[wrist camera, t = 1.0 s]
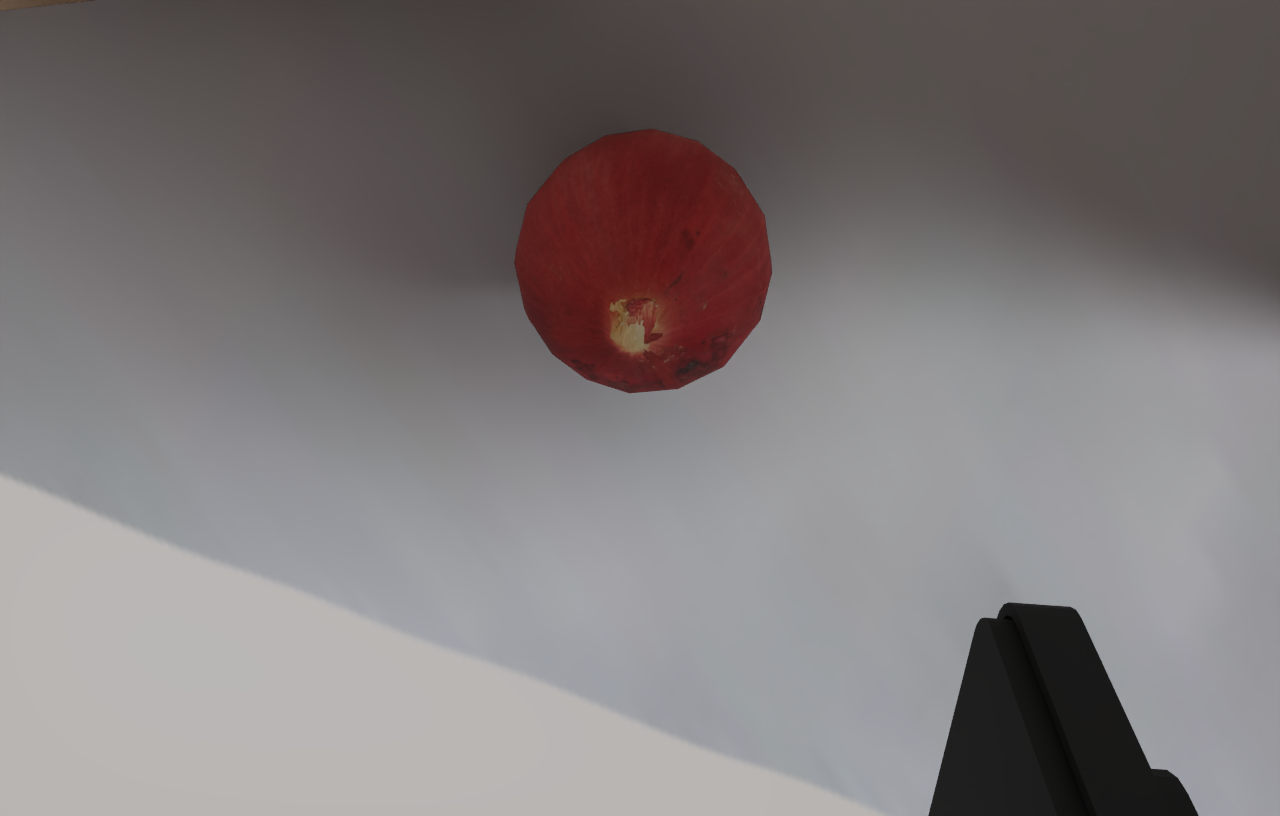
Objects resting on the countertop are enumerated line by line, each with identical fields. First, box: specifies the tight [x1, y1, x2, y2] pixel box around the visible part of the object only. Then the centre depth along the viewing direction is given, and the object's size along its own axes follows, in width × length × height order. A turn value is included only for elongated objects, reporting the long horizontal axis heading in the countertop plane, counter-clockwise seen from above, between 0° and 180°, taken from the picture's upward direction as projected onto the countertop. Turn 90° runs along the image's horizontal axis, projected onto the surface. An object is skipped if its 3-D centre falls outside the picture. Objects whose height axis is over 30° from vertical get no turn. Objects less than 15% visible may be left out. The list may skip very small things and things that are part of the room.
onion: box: [515, 129, 772, 393], centre depth 28 cm, size 6×6×8 cm
